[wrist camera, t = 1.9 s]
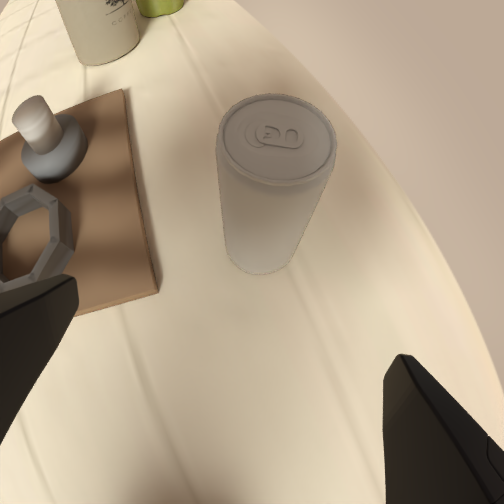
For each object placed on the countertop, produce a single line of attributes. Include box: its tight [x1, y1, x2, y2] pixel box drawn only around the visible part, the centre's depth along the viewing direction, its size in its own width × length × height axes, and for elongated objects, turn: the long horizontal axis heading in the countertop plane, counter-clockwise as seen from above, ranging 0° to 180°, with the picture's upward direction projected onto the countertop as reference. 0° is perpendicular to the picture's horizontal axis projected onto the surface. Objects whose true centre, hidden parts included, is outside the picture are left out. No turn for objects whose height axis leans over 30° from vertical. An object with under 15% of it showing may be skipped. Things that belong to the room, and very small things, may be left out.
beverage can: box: [216, 94, 337, 275], centre depth 17 cm, size 5×5×12 cm
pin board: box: [0, 89, 159, 317], centre depth 20 cm, size 20×16×8 cm
